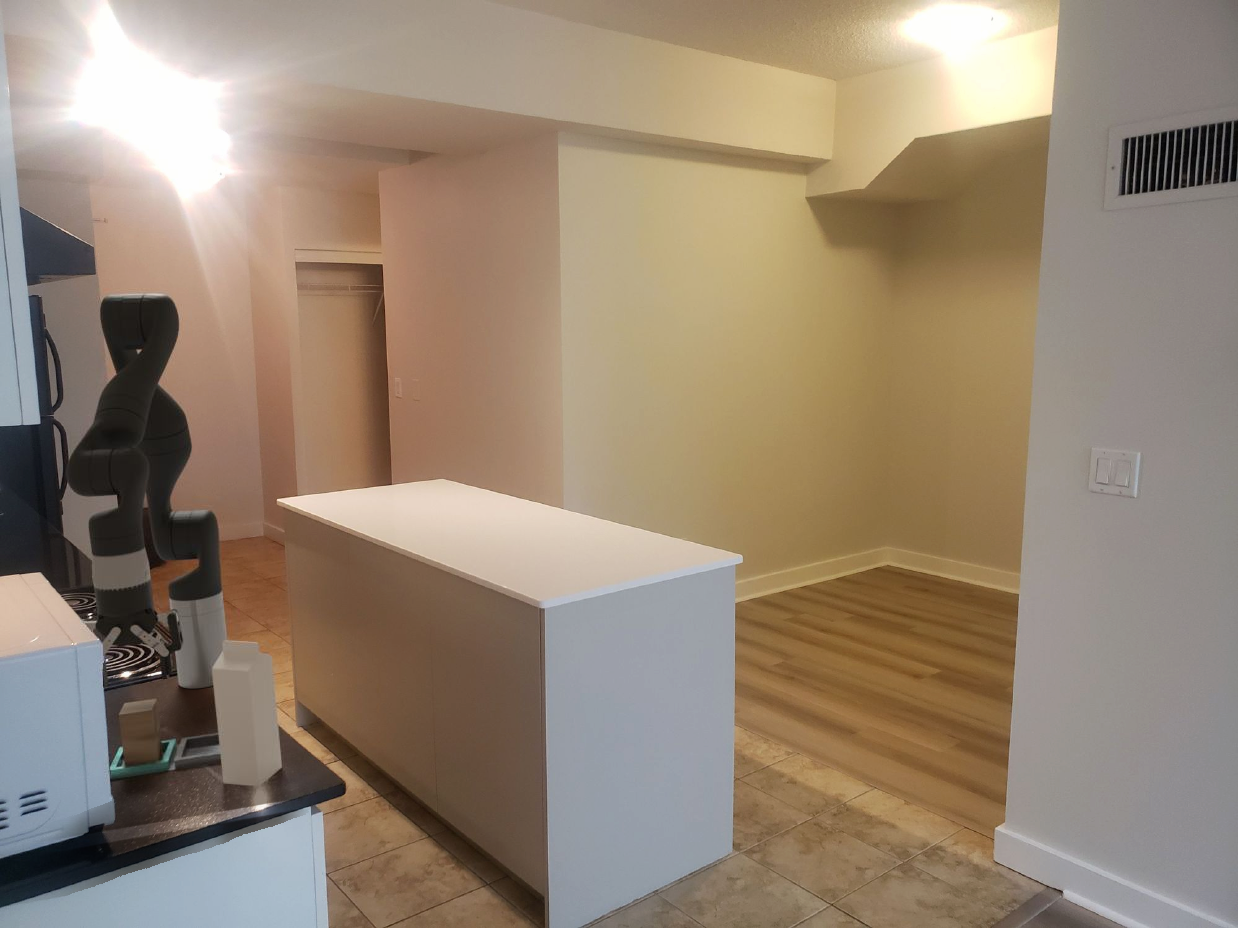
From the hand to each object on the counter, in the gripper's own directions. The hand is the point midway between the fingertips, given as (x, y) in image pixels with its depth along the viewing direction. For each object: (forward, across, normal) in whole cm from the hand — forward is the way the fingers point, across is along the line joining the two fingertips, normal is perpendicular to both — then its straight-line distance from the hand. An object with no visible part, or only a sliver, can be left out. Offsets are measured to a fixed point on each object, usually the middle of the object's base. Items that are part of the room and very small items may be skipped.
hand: (135, 681), depth 142 cm
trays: (+14, -4, 0) cm, 15 cm away
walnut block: (+13, 0, 0) cm, 13 cm away
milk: (+14, -16, +11) cm, 24 cm away
